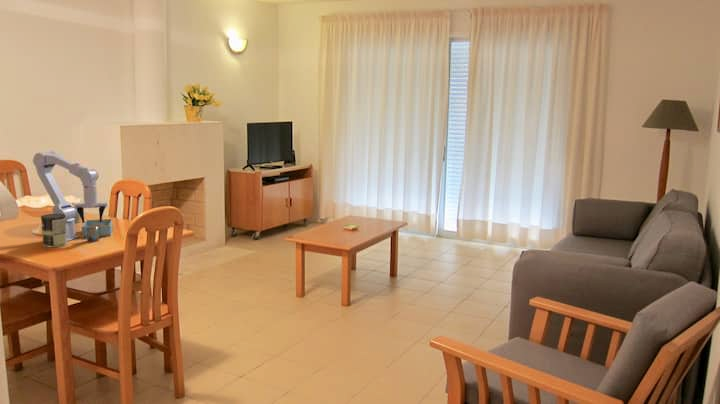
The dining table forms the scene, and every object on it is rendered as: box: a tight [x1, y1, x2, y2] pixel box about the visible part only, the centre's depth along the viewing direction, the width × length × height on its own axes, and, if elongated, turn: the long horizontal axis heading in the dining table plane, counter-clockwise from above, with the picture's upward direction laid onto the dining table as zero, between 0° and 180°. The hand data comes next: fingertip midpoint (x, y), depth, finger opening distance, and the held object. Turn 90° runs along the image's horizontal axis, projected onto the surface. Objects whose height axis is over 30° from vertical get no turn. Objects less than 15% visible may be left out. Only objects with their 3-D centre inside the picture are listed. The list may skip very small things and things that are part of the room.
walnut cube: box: [93, 223, 105, 226], centre depth 297 cm, size 5×5×5 cm
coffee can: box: [40, 213, 68, 248], centre depth 275 cm, size 10×10×14 cm
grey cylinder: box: [86, 226, 100, 243], centre depth 284 cm, size 5×5×7 cm
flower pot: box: [74, 209, 82, 224], centre depth 325 cm, size 9×9×9 cm
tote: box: [81, 218, 114, 239], centre depth 301 cm, size 17×13×6 cm
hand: (92, 222), depth 283 cm, fingers open, 7 cm apart
